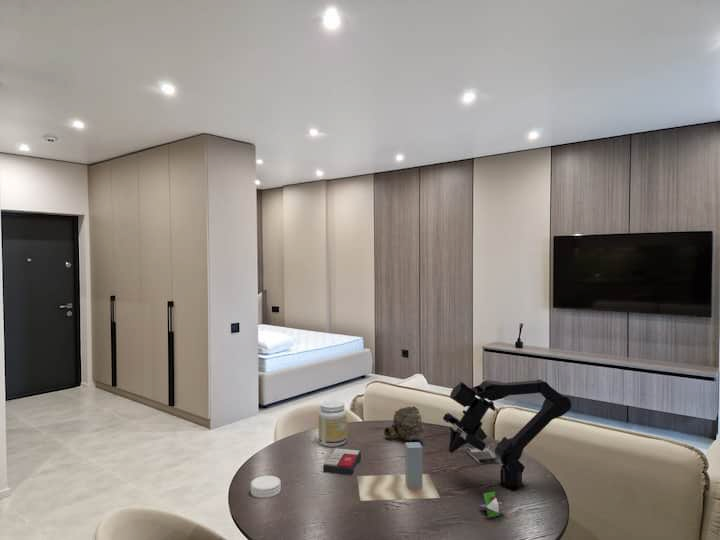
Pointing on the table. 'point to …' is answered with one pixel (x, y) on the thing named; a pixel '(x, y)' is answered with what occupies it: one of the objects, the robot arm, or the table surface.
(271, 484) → the white puck
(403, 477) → the board
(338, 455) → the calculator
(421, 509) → the table surface
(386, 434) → the rock
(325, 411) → the supplement tub
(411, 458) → the pillar
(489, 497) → the geometric puzzle
